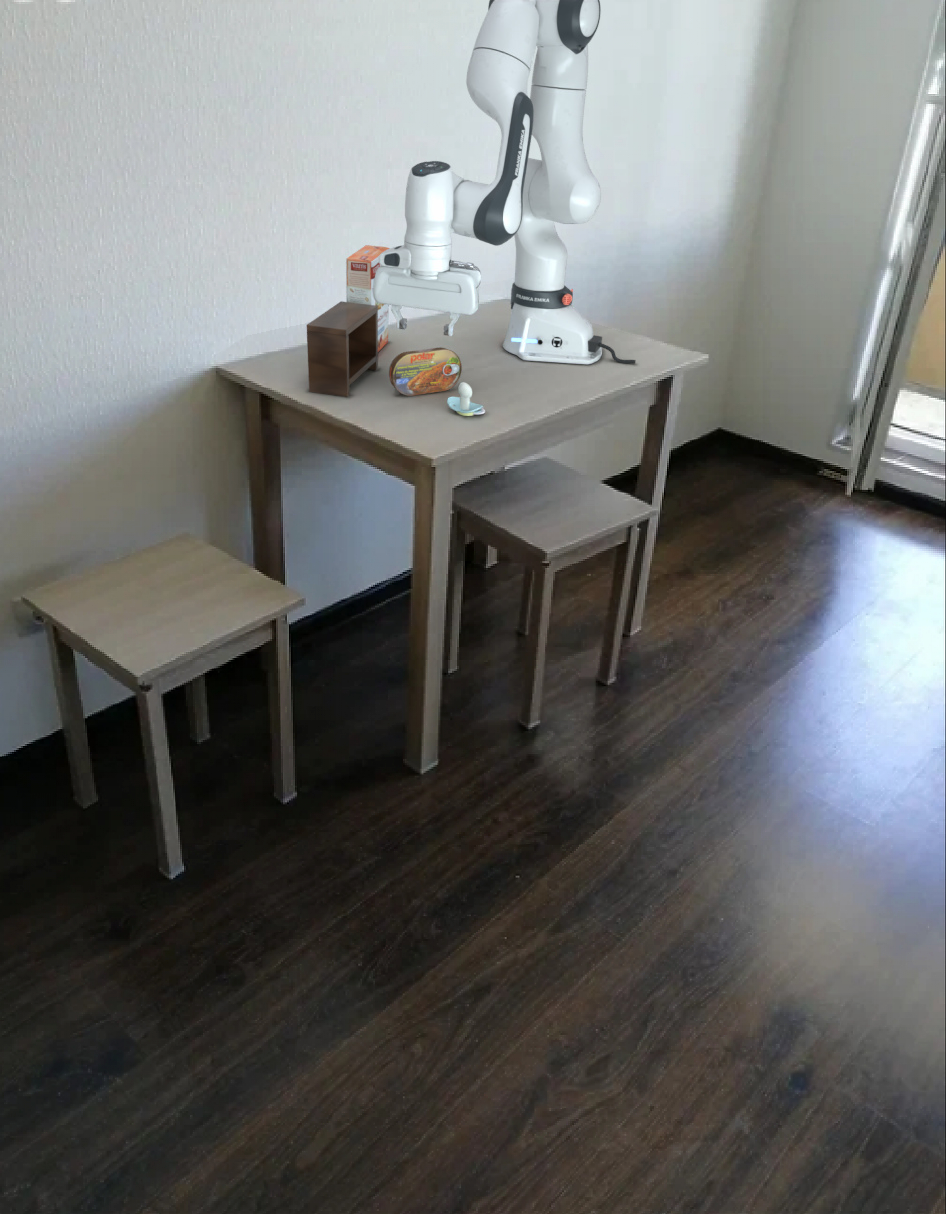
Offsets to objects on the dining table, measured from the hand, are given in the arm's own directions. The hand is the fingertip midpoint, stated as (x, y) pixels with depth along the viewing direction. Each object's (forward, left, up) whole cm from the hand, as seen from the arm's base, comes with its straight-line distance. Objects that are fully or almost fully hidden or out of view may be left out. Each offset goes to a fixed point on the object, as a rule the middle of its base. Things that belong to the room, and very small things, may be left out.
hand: (424, 331), depth 190 cm
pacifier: (-11, +8, -12) cm, 18 cm away
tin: (0, 0, -12) cm, 12 cm away
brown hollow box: (+17, 0, -12) cm, 21 cm away
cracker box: (+19, -20, -12) cm, 30 cm away
